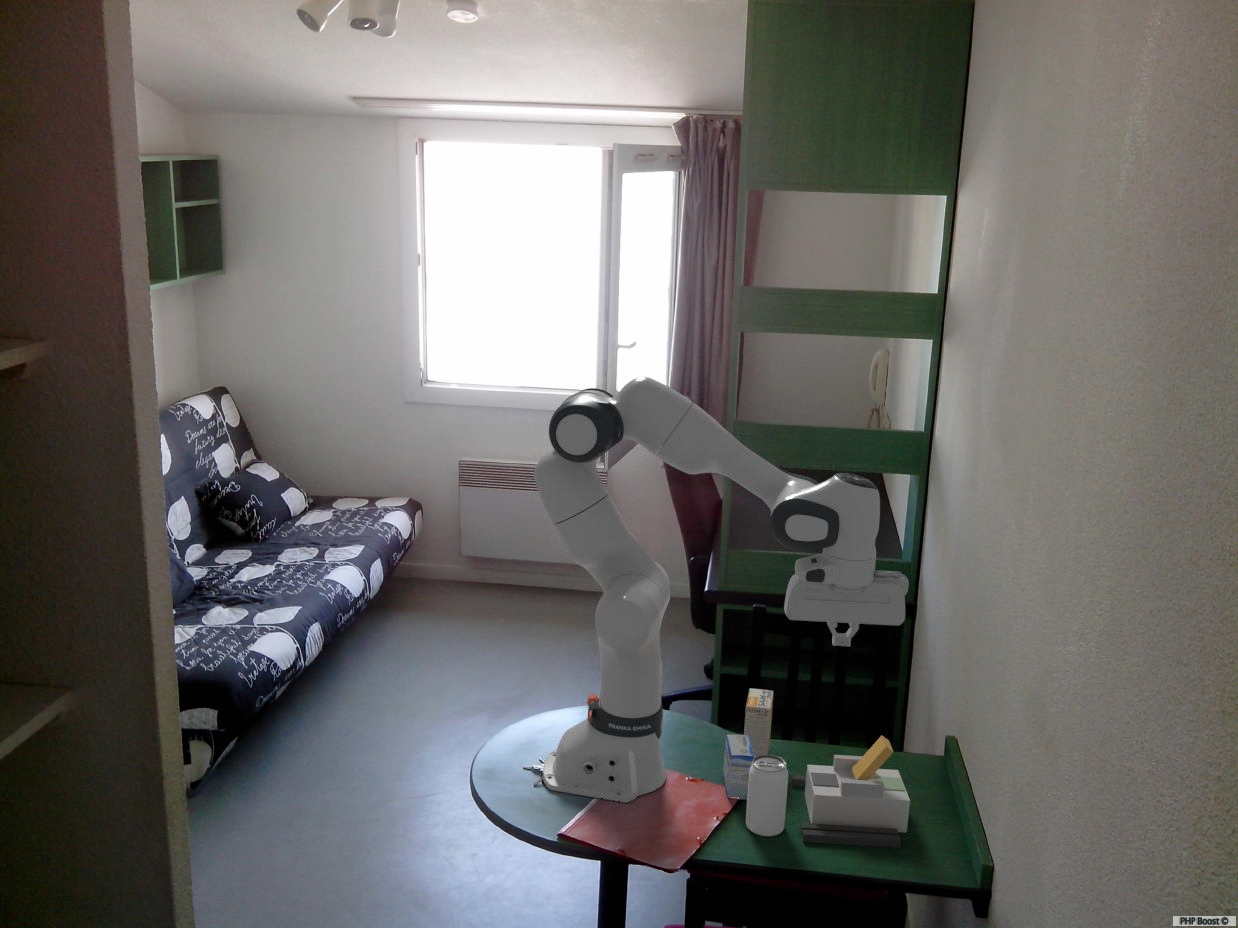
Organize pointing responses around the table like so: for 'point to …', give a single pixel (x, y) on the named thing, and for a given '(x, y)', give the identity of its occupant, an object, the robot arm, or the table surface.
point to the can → (767, 795)
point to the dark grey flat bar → (850, 835)
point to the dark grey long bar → (798, 780)
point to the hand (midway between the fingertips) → (841, 644)
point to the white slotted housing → (856, 796)
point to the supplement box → (759, 720)
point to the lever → (872, 759)
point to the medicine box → (737, 765)
